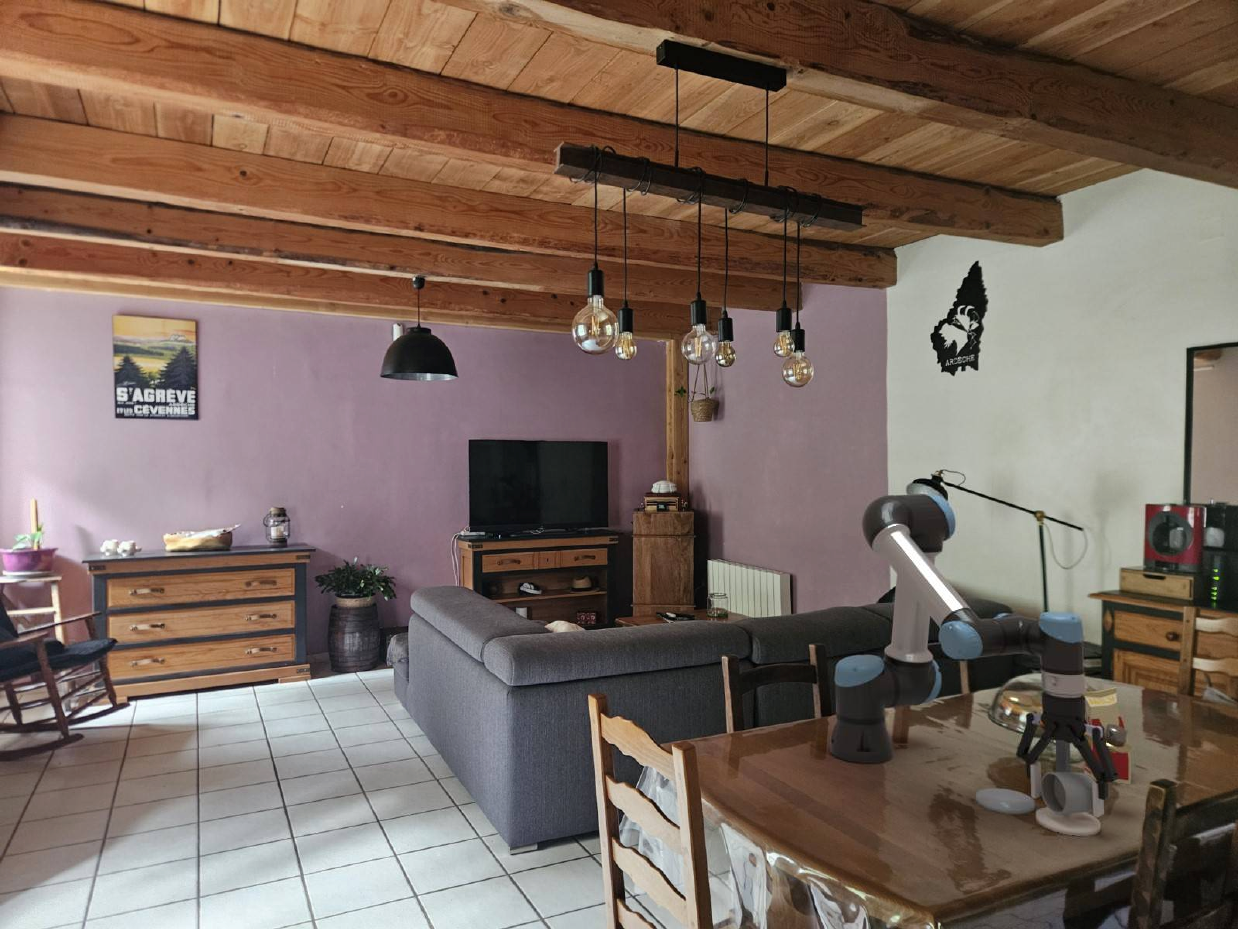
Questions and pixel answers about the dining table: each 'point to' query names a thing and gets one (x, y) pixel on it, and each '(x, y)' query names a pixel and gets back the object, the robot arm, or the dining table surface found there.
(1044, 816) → the plate far cream
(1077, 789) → the ceramic mug
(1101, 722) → the milk carton
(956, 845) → the dining table surface
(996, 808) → the plate near greyblue
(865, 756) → the robot arm
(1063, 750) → the balance stand
